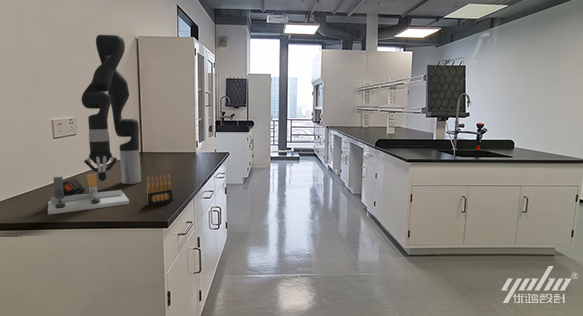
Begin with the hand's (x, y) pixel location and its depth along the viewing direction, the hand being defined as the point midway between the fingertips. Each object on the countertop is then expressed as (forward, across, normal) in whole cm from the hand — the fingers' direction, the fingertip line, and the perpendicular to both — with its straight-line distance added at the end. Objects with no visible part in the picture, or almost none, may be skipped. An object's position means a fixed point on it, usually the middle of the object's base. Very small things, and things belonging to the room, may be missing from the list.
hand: (102, 180), depth 156 cm
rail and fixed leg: (+7, +6, +4) cm, 10 cm away
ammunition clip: (+9, -19, +17) cm, 27 cm away
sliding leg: (+5, +4, +4) cm, 7 cm away
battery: (+9, +11, -17) cm, 22 cm away
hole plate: (+9, +6, +4) cm, 11 cm away
